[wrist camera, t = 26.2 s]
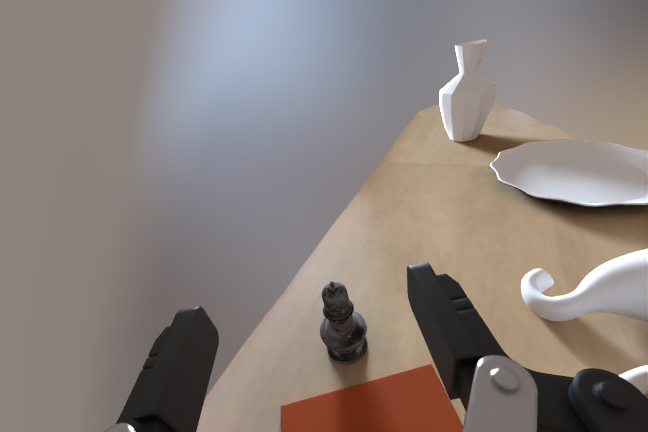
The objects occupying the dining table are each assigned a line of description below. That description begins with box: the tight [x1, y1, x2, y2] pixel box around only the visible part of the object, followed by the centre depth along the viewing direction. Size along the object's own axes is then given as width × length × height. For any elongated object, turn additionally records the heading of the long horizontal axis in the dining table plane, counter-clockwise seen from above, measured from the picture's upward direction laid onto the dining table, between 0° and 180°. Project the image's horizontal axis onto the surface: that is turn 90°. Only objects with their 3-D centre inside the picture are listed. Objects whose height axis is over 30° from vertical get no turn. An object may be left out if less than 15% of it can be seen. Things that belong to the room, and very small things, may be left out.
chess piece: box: [320, 281, 367, 364], centre depth 33 cm, size 6×6×12 cm
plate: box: [490, 139, 648, 207], centre depth 58 cm, size 29×29×2 cm
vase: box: [439, 40, 496, 142], centre depth 79 cm, size 14×14×25 cm
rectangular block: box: [281, 364, 463, 432], centre depth 29 cm, size 18×7×1 cm, turn 100°
